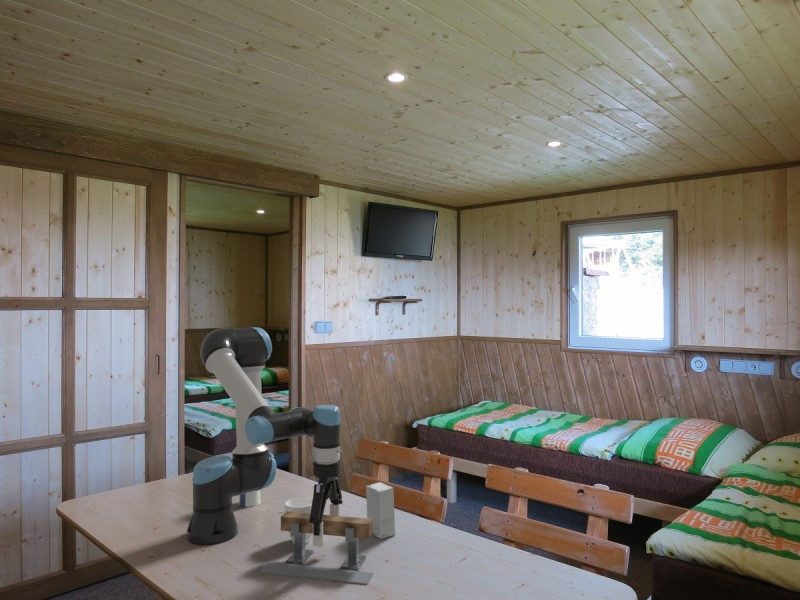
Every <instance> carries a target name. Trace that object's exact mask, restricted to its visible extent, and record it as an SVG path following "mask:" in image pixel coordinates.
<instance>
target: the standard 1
mask: <svg viewBox="0 0 800 600" xmlns="http://www.w3.org/2000/svg"><path fill="white" fill-rule="evenodd" d="M305 535H306V533H300V523H296V522H292V523H291V536H294V543H293V546H294V547H293V552H292V554H290V556H289V557H288V558H287V559H286V560H285V563H289V564H298V565H304V564H305V563H306V562H307V560H308V559H309V558H310V557H311V556H312V554H314V550H312V549H311V550H310V549H306V544H305Z"/></svg>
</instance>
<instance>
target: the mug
mask: <svg viewBox="0 0 800 600" xmlns="http://www.w3.org/2000/svg"><path fill="white" fill-rule="evenodd" d="M312 500H313V498H309V497H295V498H291V499H288V500H287V501H285V503H284V507H285V509H284V510H285V512H298V513H309V514H310V513H311V507H312ZM287 533H288V534H289V536H290V537H289V538H290V540H291V541H292V544H294V536H291V532H290V531H287ZM312 536H313V534H311V533H306V535H305V545H307V544H308V543H309V542H310V540H311V538H312Z"/></svg>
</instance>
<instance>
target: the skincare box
mask: <svg viewBox="0 0 800 600" xmlns="http://www.w3.org/2000/svg"><path fill="white" fill-rule="evenodd" d="M365 492H366V493H365V494H366V495H365V497H366V500H365V501H366V518H367V519H373V534H372V536H374V537H377V538H378V539H381V540H382V539H384V538H389V537H390V538H391V537H394V536H395V535H396V521H395V500H394V499H395V498H394V495H395V494H394V493H395V492H394V487H392V486H390V485H387V484H385V483H383V482H375V483H372V484H368V485H365Z"/></svg>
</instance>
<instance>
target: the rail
mask: <svg viewBox="0 0 800 600" xmlns="http://www.w3.org/2000/svg"><path fill="white" fill-rule="evenodd" d="M309 519H310V514H309V513H298V512H286V511H285V512H284V513H283V514H282V515H281V516H280V531H282V532H288V531H290V532H291V523H292V522H296V523H300V533H311V534H312V535H313V523H309ZM322 522H323V536H332V537H345V528H346V527H351V528H355V538H359V539H365V540H370V538H371V537H372V536H373V519H367V517H365V518H364V517H354V516H344V515H343V516H342V515H341V516H340V515H339V516H332V515H330V514H323V518H322Z"/></svg>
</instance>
